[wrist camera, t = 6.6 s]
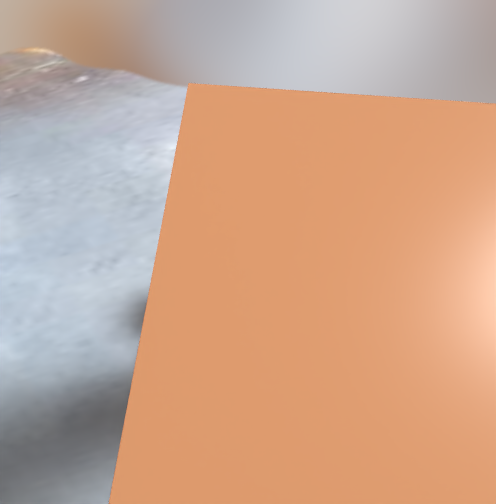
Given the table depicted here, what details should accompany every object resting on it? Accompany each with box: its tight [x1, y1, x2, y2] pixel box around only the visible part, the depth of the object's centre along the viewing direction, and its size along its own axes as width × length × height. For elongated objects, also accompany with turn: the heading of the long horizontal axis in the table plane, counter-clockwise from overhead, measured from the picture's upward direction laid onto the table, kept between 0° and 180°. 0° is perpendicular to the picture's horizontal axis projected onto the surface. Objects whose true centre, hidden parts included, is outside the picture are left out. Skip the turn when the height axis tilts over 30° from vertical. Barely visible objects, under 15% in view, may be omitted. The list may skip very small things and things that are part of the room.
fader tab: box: [109, 83, 496, 504], centre depth 9 cm, size 4×5×14 cm
